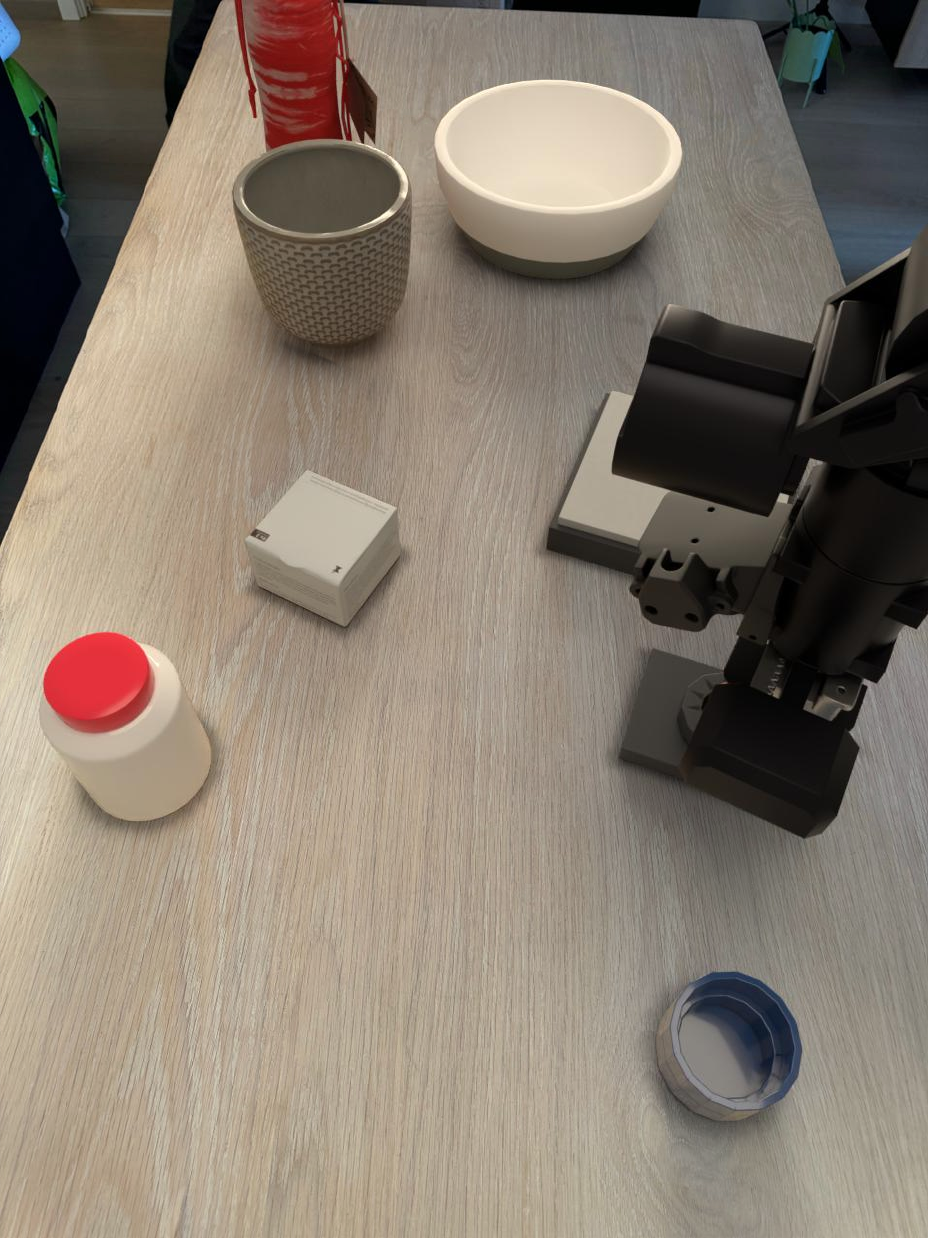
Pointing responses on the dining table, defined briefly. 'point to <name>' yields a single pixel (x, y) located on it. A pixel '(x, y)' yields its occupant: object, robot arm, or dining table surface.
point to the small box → (325, 547)
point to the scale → (606, 499)
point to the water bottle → (302, 71)
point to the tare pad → (667, 711)
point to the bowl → (555, 174)
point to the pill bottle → (124, 726)
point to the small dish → (728, 1046)
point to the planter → (326, 237)
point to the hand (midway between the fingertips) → (766, 718)
